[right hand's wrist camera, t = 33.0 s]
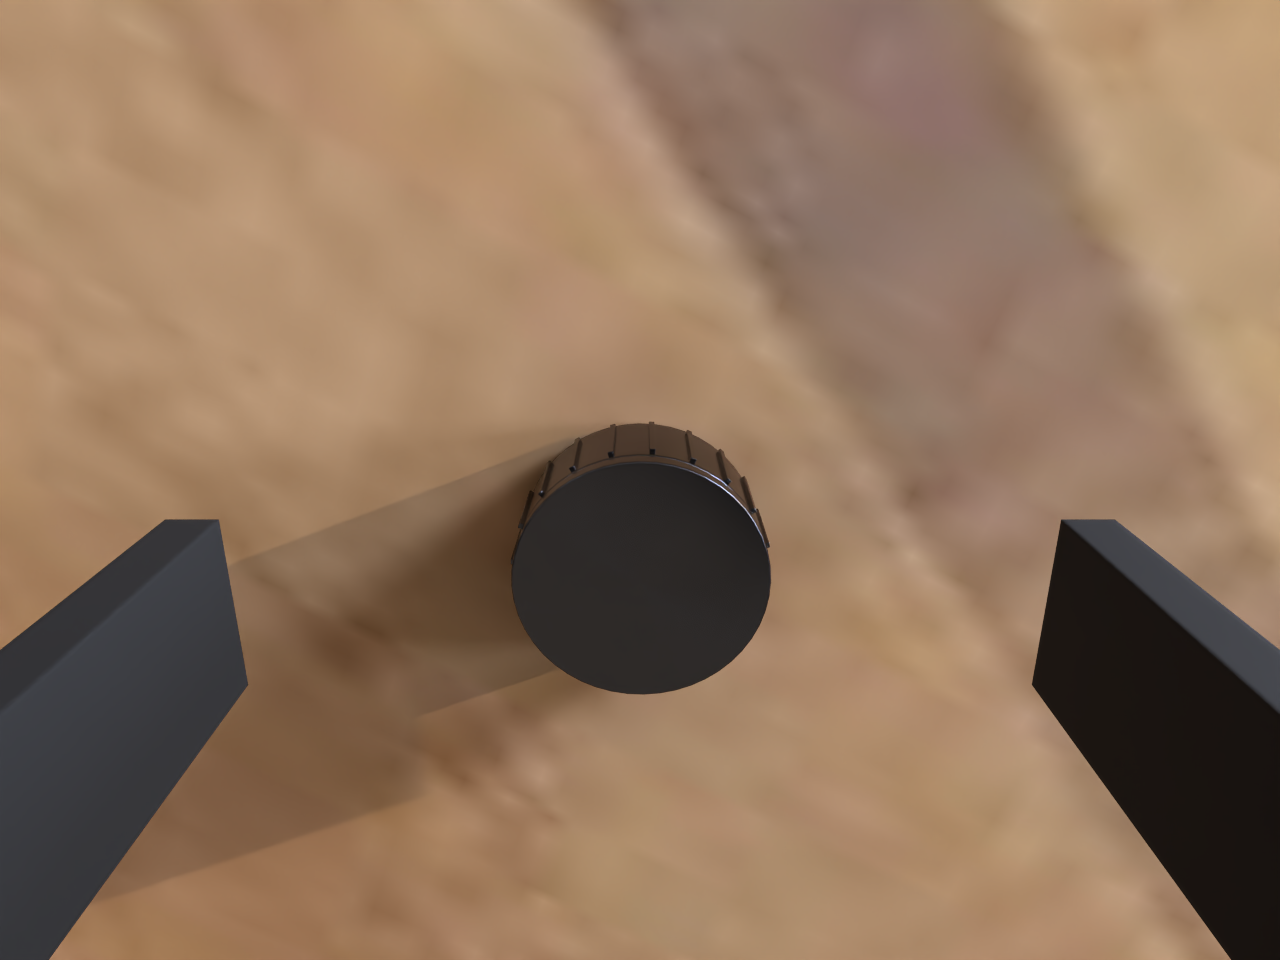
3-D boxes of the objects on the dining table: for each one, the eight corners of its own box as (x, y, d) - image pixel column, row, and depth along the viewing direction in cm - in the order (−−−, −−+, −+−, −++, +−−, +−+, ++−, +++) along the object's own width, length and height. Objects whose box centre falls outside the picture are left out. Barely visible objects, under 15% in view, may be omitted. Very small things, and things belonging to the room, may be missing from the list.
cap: (503, 608, 16) (486, 667, 14) (550, 394, 15) (537, 430, 13) (722, 655, 16) (732, 720, 14) (787, 451, 15) (807, 494, 13)
